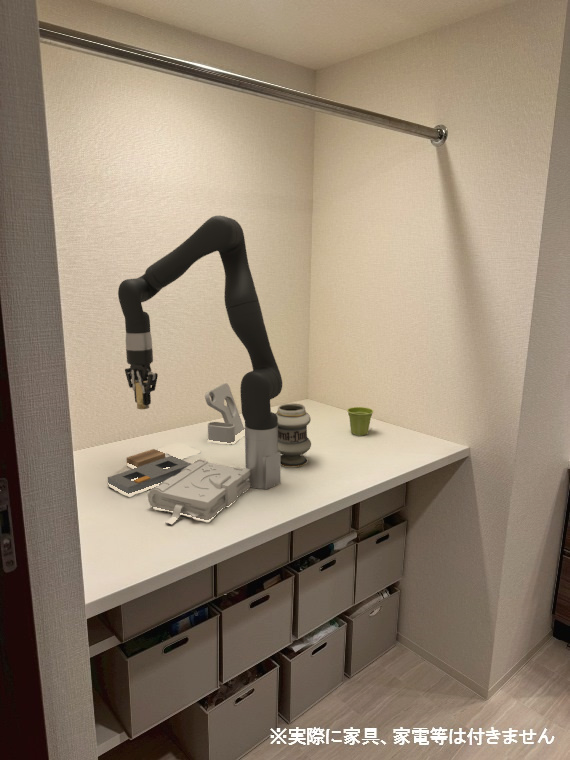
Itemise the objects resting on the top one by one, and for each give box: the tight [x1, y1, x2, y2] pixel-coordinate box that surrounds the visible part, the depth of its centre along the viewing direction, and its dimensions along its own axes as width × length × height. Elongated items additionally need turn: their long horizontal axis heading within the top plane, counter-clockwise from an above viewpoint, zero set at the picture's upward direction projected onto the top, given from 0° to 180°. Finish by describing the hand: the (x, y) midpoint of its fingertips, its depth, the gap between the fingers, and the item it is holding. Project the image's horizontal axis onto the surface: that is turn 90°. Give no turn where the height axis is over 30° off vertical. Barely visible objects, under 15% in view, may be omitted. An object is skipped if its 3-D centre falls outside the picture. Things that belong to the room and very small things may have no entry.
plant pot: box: [346, 406, 374, 436], centre depth 198 cm, size 9×9×9 cm
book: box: [147, 458, 251, 520], centre depth 144 cm, size 19×28×8 cm
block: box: [126, 448, 166, 467], centre depth 169 cm, size 6×10×3 cm, turn 139°
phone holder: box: [204, 383, 245, 443], centre depth 194 cm, size 17×10×18 cm, turn 161°
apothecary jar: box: [274, 402, 312, 468], centre depth 171 cm, size 12×12×18 cm
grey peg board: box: [107, 455, 192, 494], centre depth 158 cm, size 10×22×3 cm, turn 139°
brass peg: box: [135, 381, 150, 410], centre depth 165 cm, size 4×4×8 cm
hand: (142, 403), depth 165 cm, fingers closed on brass peg, 3 cm apart
